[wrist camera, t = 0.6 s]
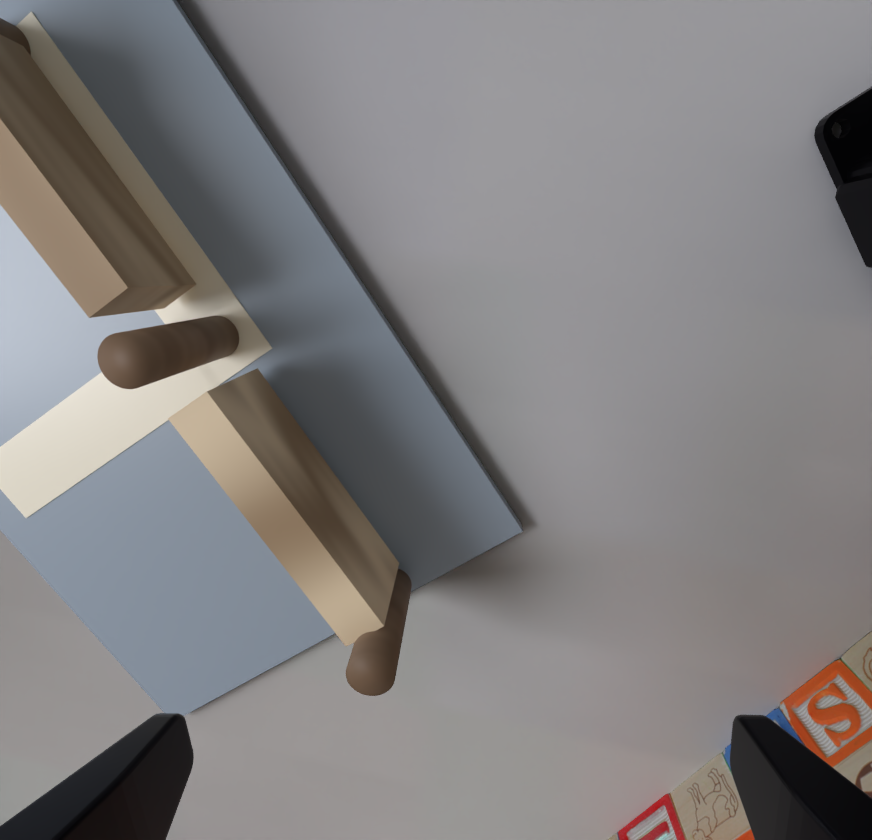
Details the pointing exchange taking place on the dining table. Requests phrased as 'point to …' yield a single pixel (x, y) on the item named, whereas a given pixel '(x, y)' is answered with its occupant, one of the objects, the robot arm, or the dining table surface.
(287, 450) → the bar
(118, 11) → the mat
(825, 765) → the robot arm
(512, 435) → the dining table surface
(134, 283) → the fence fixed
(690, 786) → the stack of blocks
